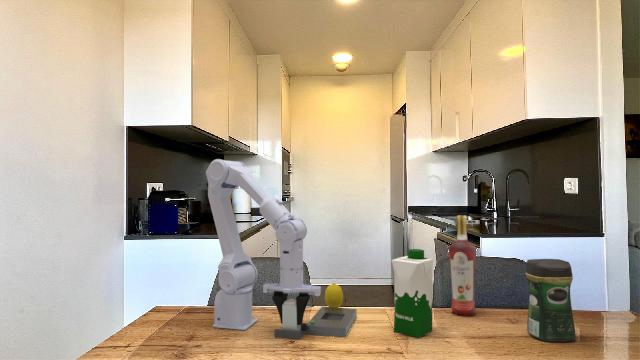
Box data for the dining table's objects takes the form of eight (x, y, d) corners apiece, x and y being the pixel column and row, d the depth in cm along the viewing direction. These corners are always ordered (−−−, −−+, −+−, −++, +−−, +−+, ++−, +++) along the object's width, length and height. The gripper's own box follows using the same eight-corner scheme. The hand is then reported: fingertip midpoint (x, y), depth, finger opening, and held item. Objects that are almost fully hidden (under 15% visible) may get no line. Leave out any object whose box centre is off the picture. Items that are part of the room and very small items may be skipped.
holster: (274, 338, 93) (274, 329, 93) (284, 329, 99) (284, 321, 99) (300, 340, 91) (300, 332, 91) (308, 331, 97) (308, 323, 98)
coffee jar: (561, 331, 96) (559, 256, 97) (581, 343, 88) (579, 262, 89) (521, 330, 96) (520, 256, 97) (538, 343, 88) (536, 261, 89)
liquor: (479, 311, 112) (477, 215, 112) (474, 319, 105) (472, 216, 106) (453, 308, 115) (451, 214, 116) (447, 314, 109) (445, 216, 110)
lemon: (341, 313, 111) (341, 285, 111) (323, 312, 112) (322, 284, 112) (344, 308, 116) (344, 281, 116) (326, 307, 117) (326, 280, 117)
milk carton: (437, 330, 97) (436, 250, 97) (420, 340, 90) (418, 255, 91) (406, 322, 103) (405, 247, 103) (388, 331, 96) (387, 251, 97)
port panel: (305, 334, 95) (305, 323, 95) (322, 314, 110) (322, 305, 110) (345, 337, 92) (345, 326, 92) (356, 317, 108) (356, 307, 108)
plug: (282, 335, 94) (282, 302, 94) (287, 330, 97) (287, 298, 98) (296, 336, 93) (296, 303, 93) (301, 331, 96) (300, 299, 97)
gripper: (258, 269, 94) (258, 326, 93) (315, 272, 90) (315, 331, 89) (269, 264, 100) (269, 316, 100) (322, 266, 97) (323, 321, 96)
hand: (291, 323), depth 95 cm, fingers closed on plug, 4 cm apart
